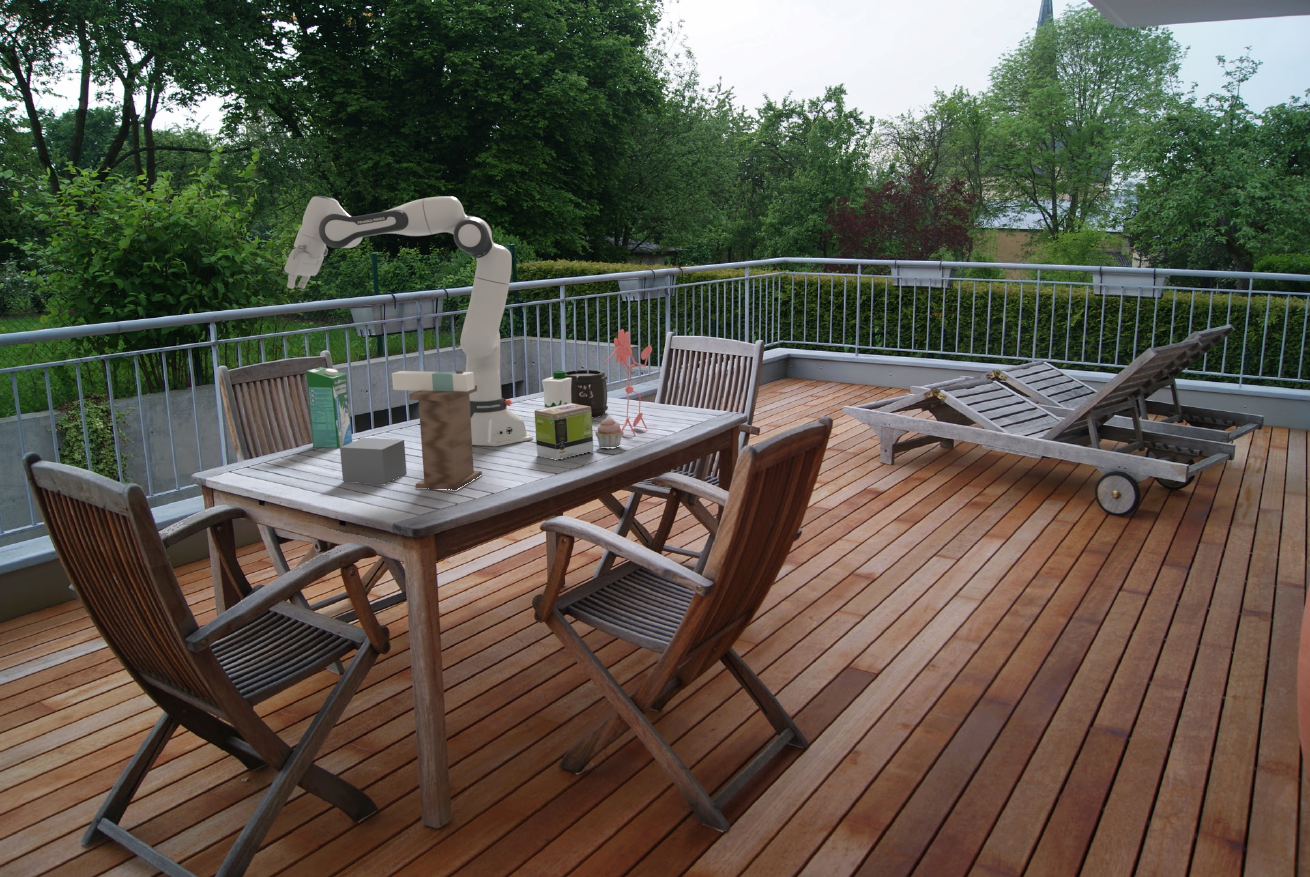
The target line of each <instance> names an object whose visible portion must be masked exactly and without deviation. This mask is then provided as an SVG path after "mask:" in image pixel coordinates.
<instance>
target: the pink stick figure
mask: <svg viewBox="0 0 1310 877" xmlns="http://www.w3.org/2000/svg"><path fill="white" fill-rule="evenodd" d="M617 332H618V333H617V338H616V337H614V339H613V344H614V347H615V348H614V351H612V352H611V354H610V356H608V358H607V359H606V360H605V362H604V363H603V365H604V366H606V364H607V362H608V361H609V360H610V359H611V358H612V357H613V356H614V354H616V357H615V362H616V363H621V366H622V367H625V366H626V367H627V386H625V392H626V397H627V407H626V408H627V409H626V419H625V422H624V423H623V425H622V426H621V427H622V428H620V429H621V431H623V432H624V430H625V428H626V427H627V425H629V427H630V430H631V431H632V434H633V435H634V434H636V432H635V431H634V429H633V428H636V426H637V425H638V424H639V423H640V422H642V424H643V426H644V429H645V430H646V429H648V427H647V425H646V423H645V421H644V419H643V412H641V397H642V396H641V393H639V392H637V391H634V387H633V386H632V385H629V384H630V371H631V370H632V368H634V367H635V366H641V367H644V368H645V367H646V366H647V362H648V358H649V356H650V354H652V352H653V347H652V345H650V344H649V345H648V346H645V348H644V349H643V350H642V352H640V358H641V360H642V361H643V360H645V361H644V364H642V363H638V362H636V361H635V359H634V356H633V351H632V347H631V342H630V336H631V335H630V331H626V332H625V330H624V329H623V328H622V329H619V330H618V331H617ZM629 357H630V358H631V360H632V362H633V363H631V365H629V364H628V359H629ZM633 393H634V394H636V395H638V396H639V402H638V403H639V406H638V414H637V415H636V417H635V418H634V420H633V424H631V422H630V417H629V416H628V415H629V401H630V399H629V395H630V394H633ZM653 427H656V425H653Z"/></svg>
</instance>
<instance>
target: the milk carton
mask: <svg viewBox="0 0 1310 877" xmlns="http://www.w3.org/2000/svg"><path fill="white" fill-rule="evenodd" d="M305 374H306V386H307V396H308V405H309V416H310V427H311V437H312V438H311V439H312V447H313V448H333V449H336V448H337V449H340V447H342V446H345V445H347V444H350V443H352V442H353V435H352V434H353V433H352V423H351V422H352V421H351V410H350V398H349V388H348V387H349V386H348V377H347V376H348V375H347V373H344V372H341V371H339V370H338V369H335V368H327V367H324V366H320V367H315V368H312V369H309V370H305Z"/></svg>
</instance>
